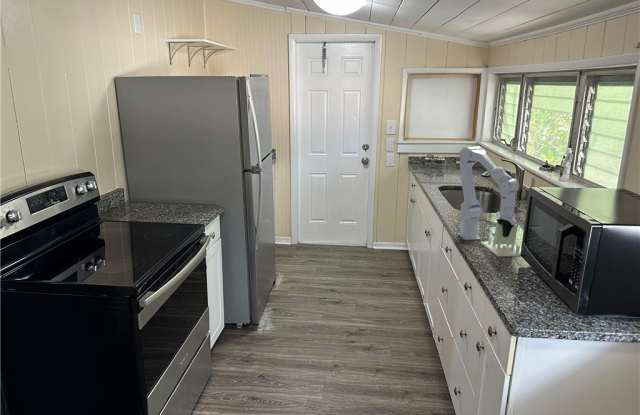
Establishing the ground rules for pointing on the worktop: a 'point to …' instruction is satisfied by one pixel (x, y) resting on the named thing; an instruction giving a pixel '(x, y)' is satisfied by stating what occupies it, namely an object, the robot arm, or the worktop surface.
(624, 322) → the worktop surface
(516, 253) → the rack
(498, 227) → the pale green tall block
